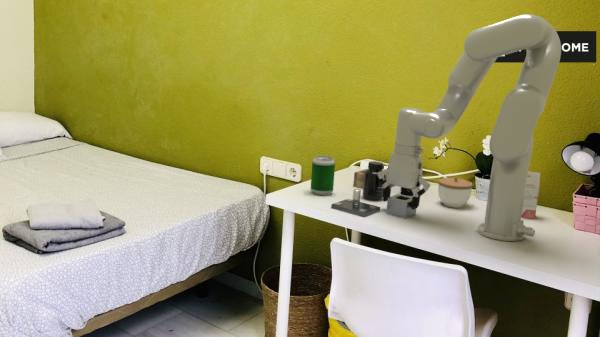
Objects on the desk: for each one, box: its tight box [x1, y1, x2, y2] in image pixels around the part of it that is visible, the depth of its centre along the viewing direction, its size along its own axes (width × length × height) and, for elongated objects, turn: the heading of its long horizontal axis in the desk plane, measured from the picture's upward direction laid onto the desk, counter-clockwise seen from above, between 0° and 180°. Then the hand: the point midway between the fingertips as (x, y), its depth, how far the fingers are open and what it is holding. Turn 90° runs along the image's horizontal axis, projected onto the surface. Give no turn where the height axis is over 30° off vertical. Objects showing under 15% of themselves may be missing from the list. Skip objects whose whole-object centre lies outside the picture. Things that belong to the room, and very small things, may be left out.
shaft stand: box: [330, 188, 381, 218], centre depth 185 cm, size 12×9×6 cm
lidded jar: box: [437, 176, 473, 209], centre depth 196 cm, size 11×11×9 cm
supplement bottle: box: [362, 160, 385, 202], centre depth 197 cm, size 7×7×12 cm
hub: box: [385, 193, 418, 220], centre depth 183 cm, size 7×7×5 cm
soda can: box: [310, 155, 336, 196], centre depth 200 cm, size 8×8×12 cm
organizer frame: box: [352, 163, 395, 189], centre depth 217 cm, size 9×20×5 cm, turn 142°
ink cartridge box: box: [521, 171, 541, 220], centre depth 188 cm, size 9×5×15 cm, turn 68°
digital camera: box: [399, 187, 414, 197], centre depth 208 cm, size 10×5×7 cm, turn 165°
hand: (400, 204), depth 183 cm, fingers open, 9 cm apart
